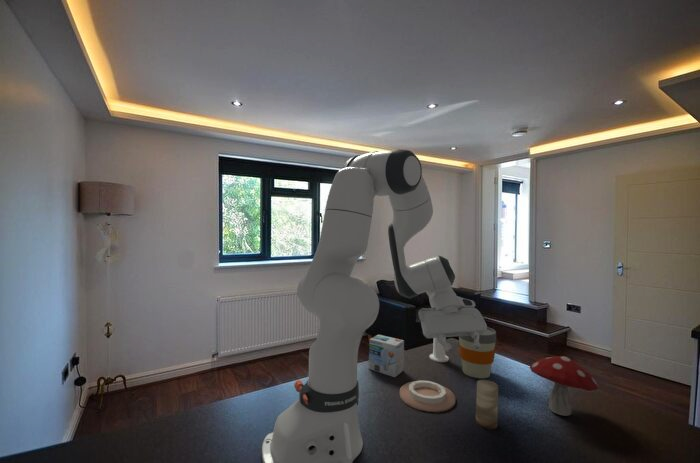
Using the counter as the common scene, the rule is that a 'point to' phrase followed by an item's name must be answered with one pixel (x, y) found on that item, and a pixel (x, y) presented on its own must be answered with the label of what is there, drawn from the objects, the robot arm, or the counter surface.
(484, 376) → the reusable coffee cup
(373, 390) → the counter surface
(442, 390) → the collar dish
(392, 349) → the light bulb box
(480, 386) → the beige cylinder
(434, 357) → the candle
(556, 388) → the decorative mushroom
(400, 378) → the counter surface
